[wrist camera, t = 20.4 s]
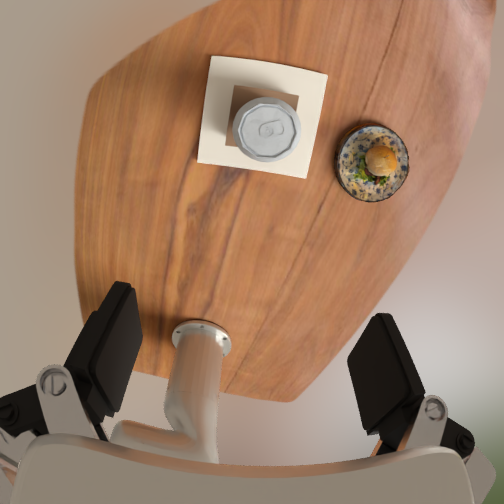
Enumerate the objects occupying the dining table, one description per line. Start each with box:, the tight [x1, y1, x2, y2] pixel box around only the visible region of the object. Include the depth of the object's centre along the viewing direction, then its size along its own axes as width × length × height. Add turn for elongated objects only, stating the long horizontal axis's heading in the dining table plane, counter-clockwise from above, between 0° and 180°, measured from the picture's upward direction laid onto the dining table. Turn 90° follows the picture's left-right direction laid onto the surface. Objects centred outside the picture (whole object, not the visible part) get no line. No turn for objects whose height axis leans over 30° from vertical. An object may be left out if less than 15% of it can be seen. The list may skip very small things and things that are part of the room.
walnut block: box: [225, 85, 299, 147], centre depth 30 cm, size 7×7×6 cm
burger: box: [334, 123, 410, 202], centre depth 33 cm, size 12×12×8 cm
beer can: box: [232, 97, 301, 162], centre depth 22 cm, size 5×5×12 cm
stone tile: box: [197, 56, 328, 179], centre depth 32 cm, size 15×15×1 cm
